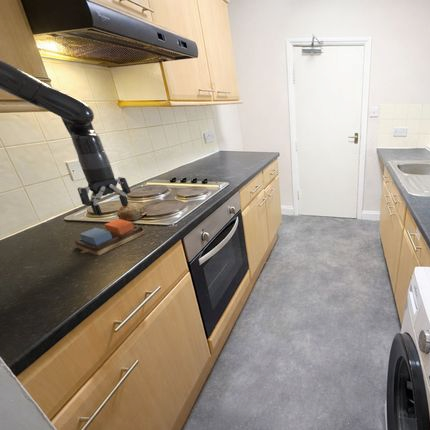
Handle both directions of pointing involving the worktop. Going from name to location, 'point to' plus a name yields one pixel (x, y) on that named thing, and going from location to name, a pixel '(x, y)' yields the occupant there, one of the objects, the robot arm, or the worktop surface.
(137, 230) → the brown wooden tray
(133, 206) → the bread roll
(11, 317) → the worktop surface
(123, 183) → the robot arm
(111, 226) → the terracotta pad
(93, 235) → the blue bevelled block
